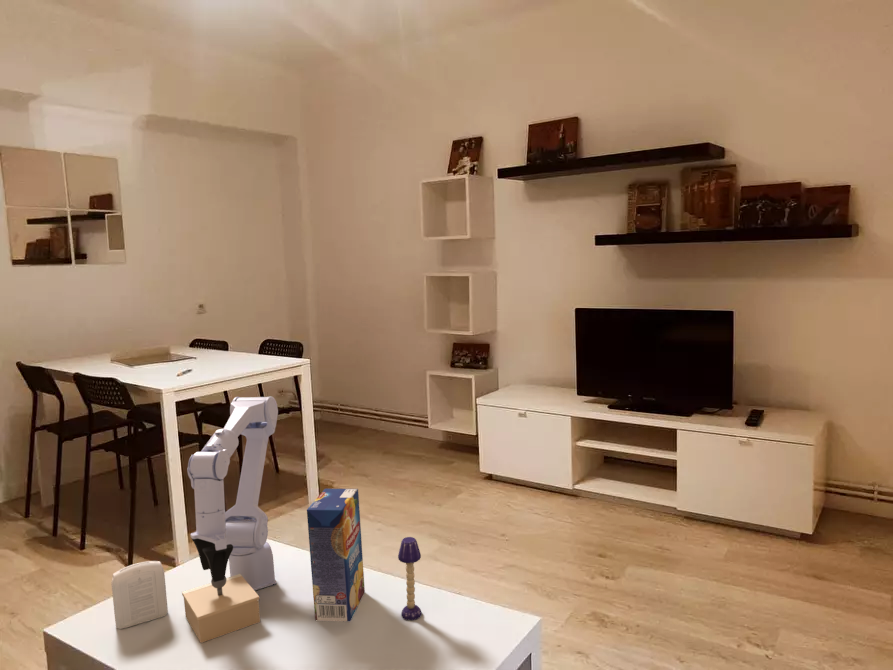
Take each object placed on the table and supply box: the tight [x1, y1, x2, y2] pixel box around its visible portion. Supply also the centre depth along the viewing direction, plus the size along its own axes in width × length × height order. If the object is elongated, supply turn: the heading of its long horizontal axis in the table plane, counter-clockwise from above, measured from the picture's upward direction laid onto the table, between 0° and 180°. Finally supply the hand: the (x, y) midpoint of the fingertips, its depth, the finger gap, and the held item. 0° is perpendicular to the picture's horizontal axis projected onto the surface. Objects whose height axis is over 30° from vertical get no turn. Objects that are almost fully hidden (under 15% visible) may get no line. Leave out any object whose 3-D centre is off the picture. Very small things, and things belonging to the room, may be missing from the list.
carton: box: [183, 598, 261, 644], centre depth 141 cm, size 12×12×5 cm
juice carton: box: [306, 488, 366, 623], centre depth 143 cm, size 12×8×24 cm, turn 172°
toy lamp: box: [397, 536, 422, 621], centre depth 138 cm, size 5×5×17 cm
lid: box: [181, 574, 260, 620], centre depth 140 cm, size 12×12×5 cm
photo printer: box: [111, 560, 169, 630], centre depth 142 cm, size 10×4×12 cm, turn 123°
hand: (213, 574), depth 139 cm, fingers open, 7 cm apart
